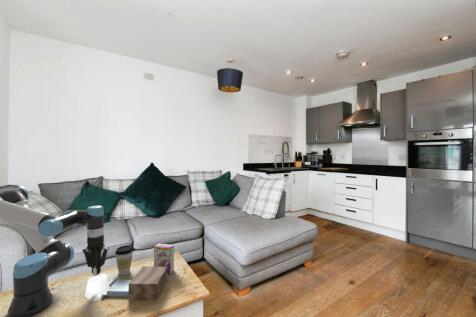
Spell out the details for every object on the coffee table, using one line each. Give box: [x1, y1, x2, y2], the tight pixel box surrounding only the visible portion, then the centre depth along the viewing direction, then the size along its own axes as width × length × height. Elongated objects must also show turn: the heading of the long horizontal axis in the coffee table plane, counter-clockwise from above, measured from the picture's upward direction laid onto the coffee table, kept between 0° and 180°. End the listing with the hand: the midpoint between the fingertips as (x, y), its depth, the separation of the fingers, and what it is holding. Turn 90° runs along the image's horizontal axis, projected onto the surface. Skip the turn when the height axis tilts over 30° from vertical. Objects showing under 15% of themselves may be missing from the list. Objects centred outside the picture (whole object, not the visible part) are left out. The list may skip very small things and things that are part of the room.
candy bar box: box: [153, 243, 175, 275], centre depth 132 cm, size 11×5×16 cm, turn 80°
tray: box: [105, 277, 132, 297], centre depth 114 cm, size 14×10×4 cm
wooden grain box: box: [128, 265, 168, 301], centre depth 114 cm, size 14×16×8 cm
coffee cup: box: [114, 244, 134, 276], centre depth 130 cm, size 10×10×15 cm
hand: (96, 279), depth 113 cm, fingers closed
